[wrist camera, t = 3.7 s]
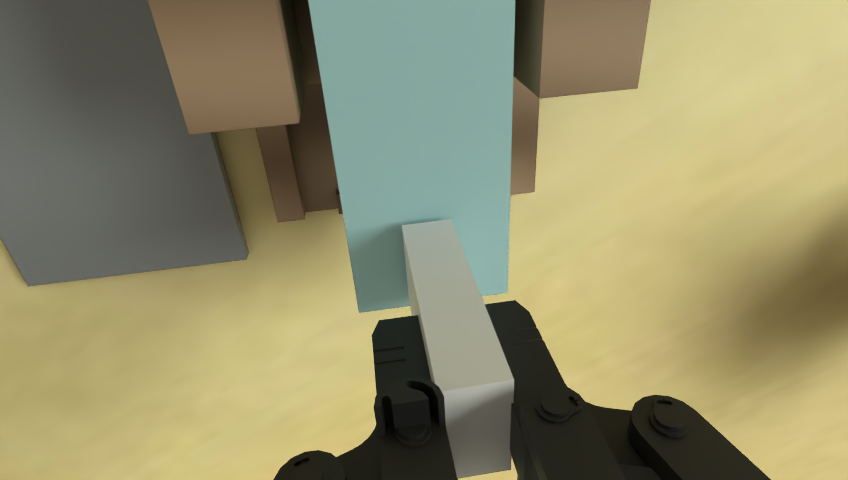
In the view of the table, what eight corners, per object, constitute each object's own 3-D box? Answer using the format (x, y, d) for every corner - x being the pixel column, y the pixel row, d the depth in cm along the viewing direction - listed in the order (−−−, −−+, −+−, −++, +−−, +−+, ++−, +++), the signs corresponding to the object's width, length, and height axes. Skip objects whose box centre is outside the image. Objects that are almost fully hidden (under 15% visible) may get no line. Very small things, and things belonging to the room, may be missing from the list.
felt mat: (-194, -133, 16) (-211, -136, 16) (134, -153, 17) (127, -155, 17) (34, 279, 25) (28, 286, 24) (248, 252, 26) (246, 259, 25)
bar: (284, -216, 13) (264, -267, 10) (477, -226, 14) (522, -277, 10) (356, 249, 20) (358, 312, 17) (480, 233, 21) (507, 292, 17)
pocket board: (160, -301, 16) (-14, -523, 8) (550, -315, 17) (729, -524, 9) (280, 212, 25) (252, 339, 17) (528, 183, 26) (607, 290, 18)
